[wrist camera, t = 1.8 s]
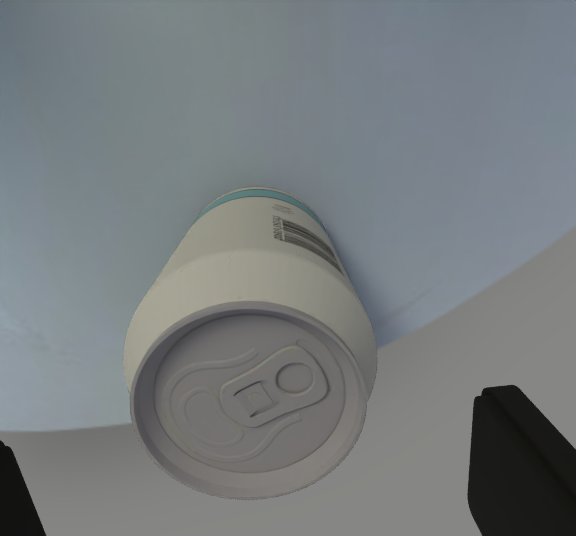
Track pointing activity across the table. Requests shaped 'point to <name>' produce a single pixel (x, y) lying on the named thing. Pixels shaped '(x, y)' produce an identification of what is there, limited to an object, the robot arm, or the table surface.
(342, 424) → the beverage can
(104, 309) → the table surface
